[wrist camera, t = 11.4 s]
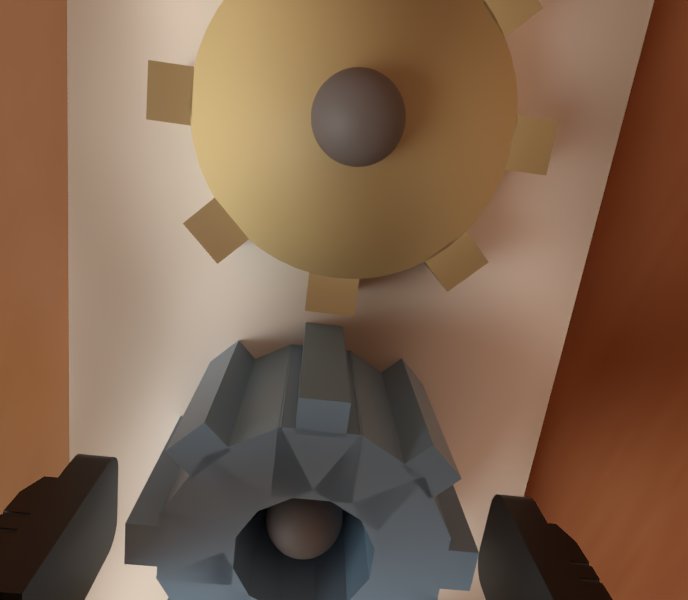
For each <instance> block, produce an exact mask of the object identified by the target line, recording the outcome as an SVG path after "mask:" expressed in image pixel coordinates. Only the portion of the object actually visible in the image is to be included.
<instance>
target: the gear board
mask: <svg viewBox="0 0 688 600" xmlns="http://www.w3.org/2000/svg"><path fill="white" fill-rule="evenodd" d="M653 4H654V0H67V67H68V251H69V436H70V462H71V461H72V459H73V458H74V457H75V456H76V455H77V454H87V455H97V456H108V457H116V458H117V460H118V508H117V526H116V532H115V536H114V540H113V544H112V547H111V549H110V552H109V554H108V556H107V558H106V560H105V562H104V564H103V565H102V567H101V569H100V571H99V573H98V575H97V577H96V579H95V581H94V583H93V585H92V587H91V589H90V591H89V593H88V595H87V596H86V598H85V600H168V596H167V594H166V592H165V591H164V589H163V588H162V586H161V585H160V583H159V582H158V580H157V578H156V576H157V567H155V566H143V565H130V564H124V557H125V523H126V521H127V519H128V517H129V515H130V513H131V511H132V509H133V508H134V506H135V504H136V502H137V500H138V498H139V496H140V494H141V492H142V490H143V488H144V486H145V484H146V482H147V480H148V478H149V476H150V474H151V472H152V471H153V469H154V467H155V465H156V463H157V461H158V459H159V457H160V455H161V453H162V451H163V449H164V447H165V445H166V443H167V441H168V439H169V437H170V435H171V434H172V432H173V430H174V428H175V426H176V424H177V422H178V420H179V418H180V416H183V415H184V413H185V411H186V409H187V407H188V405H189V403H190V401H191V399H192V397H193V395H194V393H195V391H196V389H197V387H198V385H199V383H200V381H201V379H202V377H203V375H204V373H205V371H206V369H207V367H208V365H209V363H210V362H211V361H212V360H213V359H214V358H216V357H217V356H218V355H220V354H221V353H222V352H224V351H225V350H226V349H228V348H229V347H230V346H232V345H233V344H234V343H236V342H237V341H238V340H239V341H240V342H241V344H242V345H243V346H244V347H245V348H246V349H247V350H248V351H249V353H250V354H251V355H252V356H253V357H254V358H255V359H257V358H259V357H262V356H264V355H266V354H269V353H271V352H274V351H276V350H279V349H281V348H284V347H286V346H289V345H291V344H294V345H303V342H304V333H305V325H306V322H307V323H316V324H325V325H334V326H342V327H343V333H344V342H345V350H350V351H352V352H353V353H355V354H356V355H357V356H359V357H360V358H362V359H363V360H364V361H366V362H367V363H369V364H370V365H372V366H373V367H374V368H376V369H377V370H379V371H380V372H381V373H382V372H383V371H385V370H386V369H387V368H389V367H390V366H392V365H393V364H394V363H396V362H397V361H399V360H400V359H401V358H402V359H403V360H404V361H405V363H406V364H407V365H408V366H409V368H410V369H411V370H412V371H413V373H414V374H415V375H416V377H417V378H418V379H419V380H420V382H421V383H422V384H423V386H424V389H425V391H426V394H427V396H428V399H429V401H430V403H431V406H432V408H433V411H434V413H435V416H436V418H437V420H438V423H439V425H440V428H441V430H442V433H443V435H444V437H445V440H446V442H447V445H448V447H449V450H450V452H451V454H452V457H453V459H454V462H455V464H456V467H457V469H458V471H459V474H460V476H461V480H459V481H458V482H456V483H455V484H453V486H454V488H455V491H456V494H457V496H458V499H459V501H460V504H461V507H462V509H463V512H464V515H465V517H466V520H467V522H468V525H469V528H470V530H471V533H472V536H473V538H474V541H475V544H476V546H477V549H478V551H479V550H480V546H481V542H482V537H483V533H484V529H485V525H486V521H487V517H488V513H489V509H490V505H491V501H492V499H493V497H494V496H495V495H496V494H500V495H510V496H521V497H524V493H525V489H526V486H527V482H528V478H529V474H530V471H531V467H532V463H533V459H534V455H535V452H536V448H537V444H538V440H539V436H540V433H541V429H542V425H543V421H544V417H545V414H546V410H547V406H548V402H549V398H550V395H551V391H552V387H553V383H554V379H555V376H556V372H557V368H558V364H559V361H560V357H561V353H562V349H563V345H564V342H565V338H566V334H567V330H568V326H569V323H570V319H571V315H572V311H573V307H574V304H575V300H576V296H577V292H578V288H579V285H580V281H581V277H582V273H583V269H584V266H585V262H586V258H587V254H588V251H589V247H590V243H591V239H592V235H593V232H594V228H595V224H596V220H597V216H598V213H599V209H600V205H601V201H602V197H603V194H604V190H605V186H606V182H607V178H608V175H609V171H610V167H611V163H612V159H613V156H614V152H615V148H616V144H617V140H618V137H619V133H620V129H621V125H622V122H623V118H624V114H625V110H626V106H627V103H628V99H629V95H630V91H631V87H632V84H633V80H634V76H635V72H636V68H637V65H638V61H639V57H640V53H641V49H642V46H643V42H644V38H645V34H646V30H647V27H648V23H649V19H650V15H651V12H652V8H653ZM341 526H342V508H341V507H339V506H337V505H336V504H334V503H333V502H331V501H321V500H310V499H299V498H291V499H289V500H286V501H283V502H281V503H278V504H275V505H273V506H270V507H268V508H267V511H266V527H267V532H268V535H269V537H270V539H271V541H272V542H273V544H274V545H275V547H276V548H277V549H278V550H279V551H281V552H282V553H283V554H285V555H287V556H289V557H291V558H295V559H311V558H315V557H318V556H320V555H321V554H323V553H325V552H326V551H327V550H328V549H329V548H330V547H331V546H332V545H333V544H334V542H335V541H336V539H337V538H338V535H339V533H340V530H341ZM438 600H486V599H485V596H484V593H483V590H482V588H481V585H480V581H479V575H478V560H477V564H476V568H475V572H474V576H473V580H472V584H471V588H470V591H462V590H450V589H440V590H439V594H438Z"/></svg>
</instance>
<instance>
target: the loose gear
mask: <svg viewBox="0 0 688 600" xmlns="http://www.w3.org/2000/svg"><path fill="white" fill-rule="evenodd" d="M459 480H461V476H460V474H459V471H458V469H457V467H456V464H455V462H454V459H453V457H452V454H451V452H450V450H449V447H448V445H447V442H446V440H445V437H444V435H443V433H442V430H441V428H440V425H439V423H438V420H437V418H436V416H435V413H434V411H433V408H432V406H431V403H430V401H429V399H428V396H427V394H426V391H425V389H424V386H423V384H422V383H421V382H420V380H419V379H418V378H417V377H416V375H415V374H414V373H413V371H412V370H411V369H410V368H409V366H408V365H407V364H406V363H405V361H404V360H403V359H402V358H401V359H400V360H399V361H397V362H396V363H394V364H393V365H392V366H390V367H389V368H387V369H386V370H385V371H383V372H382V373H381V372H380V371H379V370H377V369H376V368H374V367H373V366H372V365H370V364H369V363H367V362H366V361H364V360H363V359H362V358H360V357H359V356H357V355H356V354H355V353H353V352H352V351H350V350H345V342H344V333H343V327H342V326H334V325H325V324H316V323H307V322H306V325H305V333H304V342H303V345H294V344H291V345H289V346H286V347H284V348H281V349H279V350H276V351H274V352H271V353H269V354H266V355H264V356H262V357H259V358H257V359H255V358H254V357H253V356H252V355H251V354H250V353H249V351H248V350H247V349H246V348H245V347H244V346H243V345H242V344H241V342H240V341H239V340H238V341H237V342H236V343H234V344H233V345H232V346H230V347H229V348H228V349H226V350H225V351H224V352H222V353H221V354H220V355H218V356H217V357H216V358H214V359H213V360H212V361H211V362H210V363H209V365H208V367H207V369H206V371H205V373H204V375H203V377H202V379H201V381H200V383H199V385H198V387H197V389H196V391H195V393H194V395H193V397H192V399H191V401H190V403H189V405H188V407H187V409H186V411H185V413H184V415H183V416H180V418H179V420H178V422H177V424H176V426H175V428H174V430H173V432H172V434H171V435H170V437H169V439H168V441H167V443H166V445H165V447H164V449H163V451H162V453H161V455H160V457H159V459H158V461H157V463H156V465H155V467H154V469H153V471H152V472H151V474H150V476H149V478H148V480H147V482H146V484H145V486H144V488H143V490H142V492H141V494H140V496H139V498H138V500H137V502H136V504H135V506H134V508H133V509H132V511H131V513H130V515H129V517H128V519H127V521H126V523H125V557H124V564H130V565H143V566H155V567H157V576H156V578H157V580H158V582H159V583H160V585H161V586H162V588H163V589H164V591H165V592H166V594H167V596H168V600H438V594H439V590H440V589H450V590H462V591H470V588H471V584H472V580H473V576H474V572H475V568H476V564H477V560H478V555H479V551H478V549H477V546H476V544H475V541H474V538H473V536H472V533H471V530H470V528H469V525H468V522H467V520H466V517H465V515H464V512H463V509H462V507H461V504H460V501H459V499H458V496H457V494H456V491H455V488H454V486H453V484H455V483H456V482H458V481H459ZM291 498H299V499H310V500H321V501H331V502H333V503H334V504H336V505H337V506H339V507H341V508H342V526H341V530H340V533H339V535H338V538H337V539H336V541H335V542H334V544H333V545H332V546H331V547H330V548H329V549H328V550H327V551H326V552H325V553H323V554H321V555H320V556H318V557H315V558H311V559H295V558H291V557H289V556H287V555H285V554H283V553H282V552H281V551H279V550H278V549H277V548H276V547H275V545H274V544H273V542H272V541H271V539H270V537H269V535H268V532H267V527H266V511H267V508H268V507H270V506H273V505H275V504H278V503H281V502H283V501H286V500H289V499H291Z"/></svg>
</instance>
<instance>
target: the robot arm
mask: <svg viewBox="0 0 688 600" xmlns="http://www.w3.org/2000/svg"><path fill="white" fill-rule="evenodd" d="M117 508H118V460H117V458H116V457H108V456H97V455H87V454H77V455H76V456H75V457H74V458H73V459H72V461H71V462H70V463H69V464H68V466H67V467H66V468H65V469H64V471H63V472H62V473H61V475H60V476H59V477H58V478H55V477H43V478H41V479H40V480H38V481H36V482H35V483H33V484H32V485H30V486H28V487H27V488H25V489H23V490H22V491H20V492H19V493H18V495H17V496H16V497H15V498H14V499H13V500H12V502H11V503H10V504H9V505H8V506H7V507H6V508H5V510H4V512H3V514H2V515H0V600H85V598H86V596H87V595H88V593H89V591H90V589H91V587H92V585H93V583H94V581H95V579H96V577H97V575H98V573H99V571H100V569H101V567H102V565H103V564H104V562H105V560H106V558H107V556H108V554H109V552H110V549H111V547H112V544H113V540H114V536H115V532H116V526H117ZM478 575H479V581H480V585H481V588H482V590H483V593H484V596H485V599H486V600H612V598H611V596H610V595H609V593H608V592H607V590H606V588H605V587H604V585H603V584H602V583H600V582H599V577H598V576H597V574H596V573H595V571H594V569H593V568H592V566H589V562H588V560H587V558H586V557H585V555H584V554H583V552H582V550H581V549H580V547H579V546H578V544H577V543H576V542H575V541H574V540H573V539H572V538H571V537H570V536H569V535H568V534H567V533H565V532H564V531H563V530H562V529H561V528H560V527H559V526H558V525H556V524H549V523H547V521H546V520H545V518H544V516H543V515H542V513H541V511H540V510H539V508H538V506H537V504H536V503H535V501H534V500H533V499H532V498H530V497H521V496H510V495H500V494H496V495H495V496H494V497H493V499H492V501H491V505H490V509H489V513H488V517H487V521H486V525H485V529H484V533H483V537H482V542H481V546H480V550H479V555H478Z"/></svg>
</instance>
